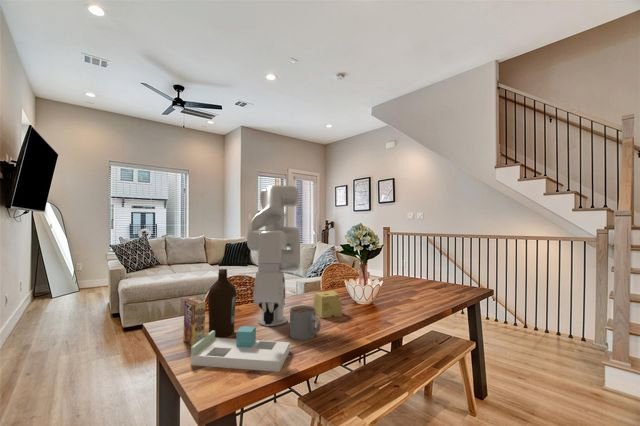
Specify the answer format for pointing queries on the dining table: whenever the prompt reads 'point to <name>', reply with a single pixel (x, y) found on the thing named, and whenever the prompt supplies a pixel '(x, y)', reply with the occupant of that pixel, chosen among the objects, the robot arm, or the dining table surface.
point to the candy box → (194, 320)
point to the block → (246, 336)
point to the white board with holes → (239, 354)
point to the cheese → (327, 304)
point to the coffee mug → (303, 322)
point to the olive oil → (222, 306)
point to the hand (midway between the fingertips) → (268, 323)
